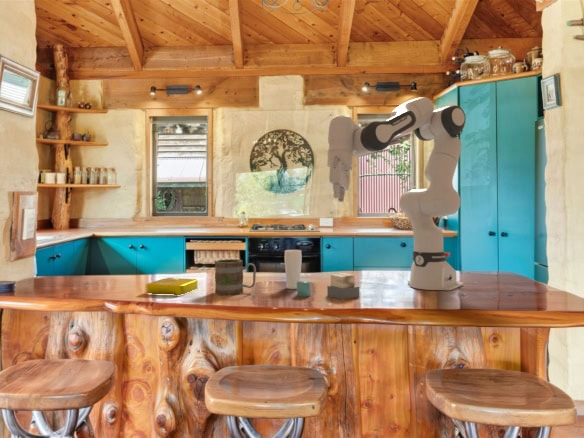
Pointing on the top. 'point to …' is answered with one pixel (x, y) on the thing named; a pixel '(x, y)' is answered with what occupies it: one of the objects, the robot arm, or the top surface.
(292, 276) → the drinking glass
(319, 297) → the top surface
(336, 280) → the tower top
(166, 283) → the element tile
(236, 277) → the mug
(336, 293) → the tower base
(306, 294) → the teal cylinder
